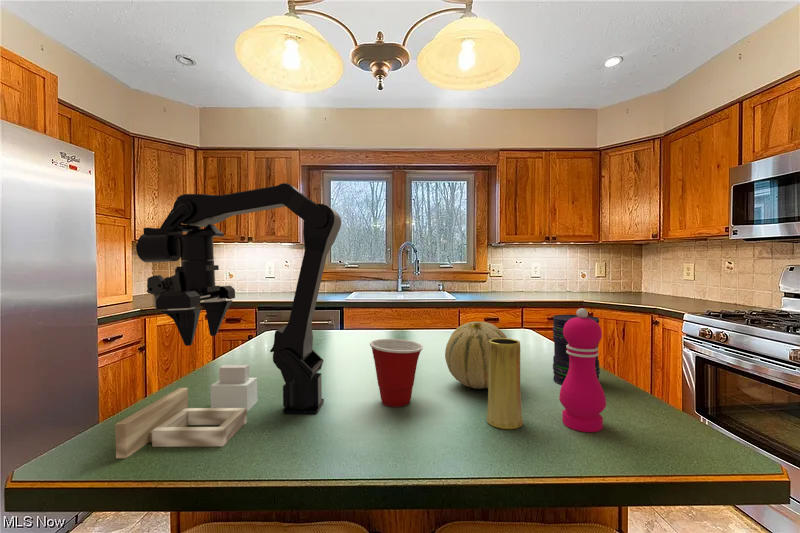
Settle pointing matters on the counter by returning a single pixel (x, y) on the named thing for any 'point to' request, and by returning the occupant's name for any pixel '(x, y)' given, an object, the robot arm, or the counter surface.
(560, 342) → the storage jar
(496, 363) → the vase
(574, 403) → the pepper mill
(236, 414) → the stand
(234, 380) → the grey stepped block
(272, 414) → the counter surface
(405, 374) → the plastic cup
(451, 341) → the cantaloupe
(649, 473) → the counter surface
